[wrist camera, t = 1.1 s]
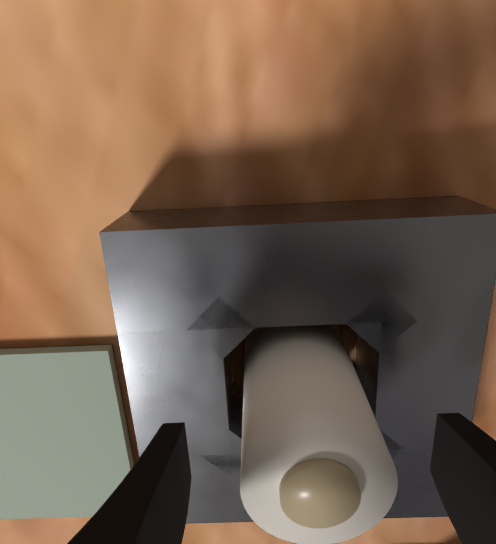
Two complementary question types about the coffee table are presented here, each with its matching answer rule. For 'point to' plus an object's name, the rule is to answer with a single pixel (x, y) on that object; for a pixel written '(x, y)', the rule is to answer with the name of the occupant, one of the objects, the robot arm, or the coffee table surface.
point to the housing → (302, 320)
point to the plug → (310, 439)
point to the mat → (60, 431)
